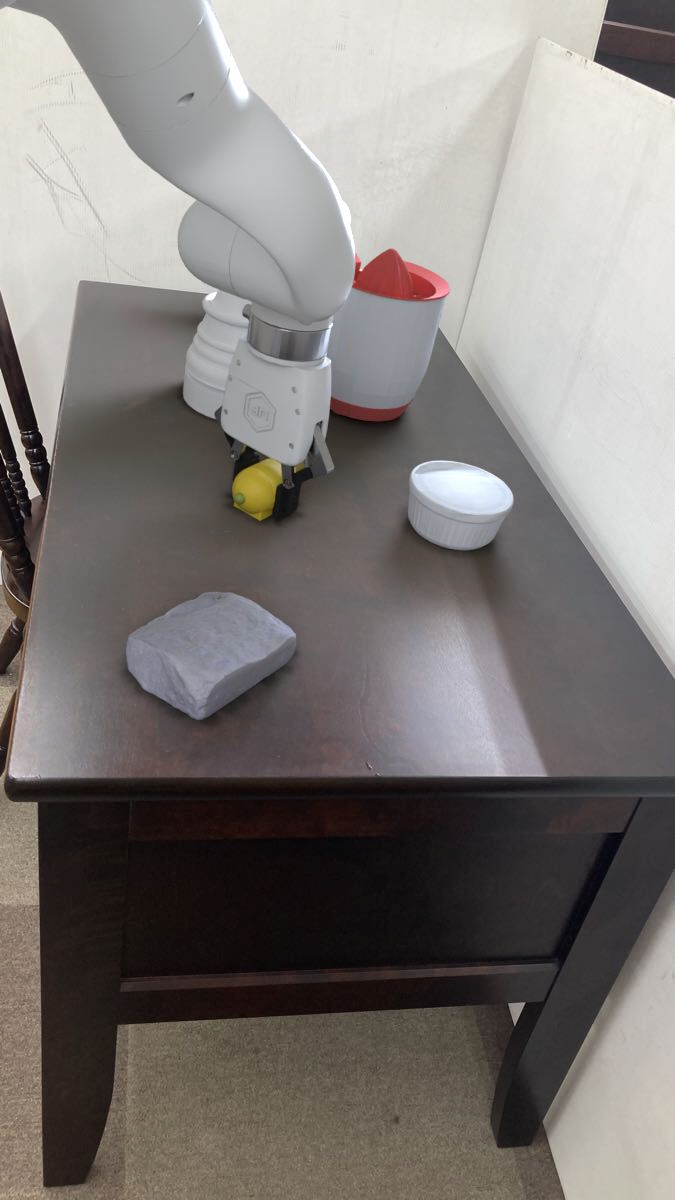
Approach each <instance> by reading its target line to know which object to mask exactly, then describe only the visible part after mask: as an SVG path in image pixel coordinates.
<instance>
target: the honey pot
mask: <svg viewBox="0 0 675 1200" xmlns="http://www.w3.org/2000/svg"><path fill="white" fill-rule="evenodd" d="M251 303H252V302H251V301H249V300H244V299H242V298H239V297H237V296H234V295H231V294H229V293H226V292H224V291H221V290H219V289H217V291H214V292H210V293H208V294H206V295H205V296H204V297H203V300H202V302H201V305H202V309H203V311H204V312H205V314H204V316H203V319H202V321H200V322H199V323H198V325H197V327H196V333H195V334H194V336H193V338H192V343H191V344H190V345H189V347H188V349H187V350H186V354H185V359H186V360H185V363H184V364H185V367H184V375H183V386H182V396H183V400H184V401H185V402H186V404H187V406H189V407H190V408H191V409H193V410H194V411H195V412H197V413H199V414H201V415H204V416H206V417H208V418H211V419H214V420H217V419H216V418H215V415H214V413H215V411H216V410H217V409H218V408H219V407H221V406H222V404H223V397H224V392H225V387H226V382H227V377H228V373H229V369H230V365H231V362H232V358H233V355H234V352H235V350H236V347H237V344H238V342H239V339H240V337H241V336H242V335H245V334H247V333H248V325H249V320H248V319H247V318H245V317H243V315H242V311H243V308H244V306H245V305H246V304H251Z"/></svg>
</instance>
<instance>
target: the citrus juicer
mask: <svg viewBox="0 0 675 1200" xmlns="http://www.w3.org/2000/svg"><path fill="white" fill-rule="evenodd" d="M361 266H362V261H361V259H360V257H359V256H358V254H357V252H355V274H354V280H353V285H352V288H351V291H350V293H349V295H348V297H347V299H346V301H345V303H344V304H343V306H342V307H341V308H340V309H339V310H338V311H337V312H336V313H335V314H334V316H333V321H332V328H331V334H330V339H329V345H328V350H327V356H326V357H327V358H328V359H330V360H331V399H330V410H331V411H332V412H333V413H334V414H336V415H340V416H344V417H348V418H351V419H356V420H359V421H360V420H361V421H365V422H386V421H393V420H395V419H398V418H399V417H401V416H402V415H403V413H404V412H405V411H406V410H407V409H408V407H409V406H410V404H411V403H412V402H413V399H414V398H415V395H416V393H417V391H418V390H419V388H420V386H421V384H422V382H423V380H424V379H425V378H424V377H425V375H426V374H427V370H428V368H429V363H430V361H431V358H432V353H433V349H434V345H435V341H436V338H437V334H438V330H439V326H440V322H441V317H442V315H443V311H444V306H445V303H446V298H447V296H449V294H450V292H451V287H450V284H449V283H448V281H447V280H446V279H445V278H443V277H442V276H440V275H439V273H436V272H434V271H432V270H430V269H428V268H426V267H424V266H422V265H418V264H416V263H413V262H410V261H405V260H403V258H402V257H401V255H400V254H399V252H398V250H397V249H395V248H393V247H392V248H387V249H386V250H384V251H383V252H381V253H379V254H378V255H377V256H376V257H374V258H373V259H372V260H370V261H369V262H368V263H367V264H366V265H365V266H364V267H363V268H362V269H363V270H362V271H360V269H361Z"/></svg>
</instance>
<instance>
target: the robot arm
mask: <svg viewBox="0 0 675 1200" xmlns="http://www.w3.org/2000/svg"><path fill="white" fill-rule="evenodd" d="M4 8H11V9H14V10H19V11H21V12H25V13H28V14H31V15H35V16H38V17H40V18H43V19H44V20H47V21H48V22H49V23H51V25H52V26H53V27H54V28H55V29H56V30H57V31H58V32H59V34H60V35H61V36H62V38H63V40H64V42H65V43H66V45H67V47H68V48H69V50H70V51H71V53H72V55H73V56H74V58H75V59H76V61H77V63H78V64H79V66H80V67H81V69H82V71H83V73H84V74H85V76H86V77H87V79H88V81H89V82H90V84H91V85H92V86H91V87H93V89H94V92H96V94H97V96H98V97H99V99H100V101H101V103H102V104H103V106H104V108H105V109H106V111H107V113H108V114H109V116H110V117H111V119H112V121H113V123H114V124H115V126H116V127H117V129H118V132H119V133H120V134H121V137H122V139H123V140H124V141H125V143H126V145H127V147H128V148H129V149H130V150H131V151H132V152H133V154H134V155H136V157H137V158H138V159H139V160H141V161H142V162H143V163H144V164H145V165H146V166H147V167H149V168H150V169H152V171H154V172H155V173H157V174H158V175H160V176H161V178H163V179H164V180H166V181H167V182H168V183H170V184H171V185H172V186H174V187H176V188H177V189H179V190H180V191H181V192H183V193H185V194H186V195H187V196H190V197H191V198H193V199H194V200H195V201H194V202H192V204H191V205H190V206H189V207H188V208H187V210H186V211H185V212H184V214H183V216H182V218H181V221H180V223H179V227H178V230H177V250H178V253H179V256H180V260H181V262H182V263H183V266H185V268H186V270H188V272H189V273H190V274H191V275H192V276H193V277H194V278H196V279H197V280H199V281H201V282H202V283H203V284H205V285H208V286H210V287H211V288H214V289H216V290H221V291H224V292H226V293H229V294H231V295H234V296H237V297H239V298H242V299H244V300H249V301H251V302H252V303H251V304H246V305H245V306H244V308H243V311H242V315H243V317H245V318H247V319H248V320H249V325H248V333H247V334H245V335H242V336H241V337H240V339H239V342H238V344H237V347H236V350H235V352H234V355H233V358H232V362H231V365H230V369H229V373H228V377H227V382H226V387H225V392H224V397H223V404H222V406H221V407H219V408H218V409H217V410H216V411H215V413H214V415H215V418H216V419H215V420H216V421H217V423H218V425H219V426H220V427H221V429H222V431H223V435H224V437H225V439H226V441H227V443H228V445H229V447H230V451H229V455H230V458H231V460H233V461H234V463H233V472H232V483H231V484H232V485H231V487H232V486H233V482H234V480H235V478H236V476H237V475H238V474H239V473H240V472H241V471H243V470H244V469H246V468H248V467H250V466H252V465H255V464H257V463H259V462H260V455H259V454H258V453H260V454H262V455H264V456H265V457H267V458H271V459H273V460H275V461H277V462H279V463H281V469H282V483H281V484H279V485H278V486H277V488H276V494H275V502H274V506H273V512H272V515H271V517H272V519H274V520H275V521H278V522H279V521H280V520H282V519H284V518H286V517H287V516H289V515H292V514H293V513H294V512H296V510H297V509H298V507H299V501H300V497H301V490H302V486H303V483H306V482H308V481H310V480H313V479H317V478H321V477H324V476H326V475H327V476H328V475H329V474H330V473H332V472H334V471H335V465H334V462H333V460H332V457H331V454H330V451H329V448H328V446H327V443H326V437H327V432H328V425H329V419H330V410H331V409H330V399H331V360H330V359H328V358H327V357H326V356H327V350H328V345H329V339H330V334H331V328H332V321H333V316H334V314H335V313H336V312H337V311H338V310H339V309H340V308H341V307H342V306H343V304H344V303H345V301H346V299H347V297H348V295H349V293H350V291H351V288H352V285H353V280H354V274H355V253H356V250H355V242H354V238H353V234H352V228H351V226H350V225H351V213H350V210H349V207H348V205H347V204H346V203H345V201H343V200H342V197H341V195H340V193H339V190H338V187H337V186H336V184H335V182H334V181H333V179H332V178H331V176H330V174H329V173H328V172H327V170H326V168H325V167H324V166H323V165H322V163H321V162H320V160H318V158H317V157H316V156H315V155H314V153H312V151H311V150H310V149H309V148H308V147H307V146H306V145H305V143H304V142H303V141H301V139H300V138H299V137H298V136H297V134H295V133H294V131H292V130H291V128H290V127H289V126H288V125H287V124H286V123H285V122H284V121H283V120H282V118H281V117H280V116H279V115H278V114H277V113H276V112H275V111H274V109H272V108H271V106H270V105H269V104H268V103H267V102H265V100H264V99H263V98H261V96H259V94H257V93H256V92H255V90H253V89H252V88H251V87H250V86H249V85H248V84H247V83H246V81H245V80H244V79H243V78H244V77H242V75H241V73H240V70H239V68H238V66H237V64H236V60H235V59H234V58H235V57H234V56H233V53H232V51H231V48H230V45H229V43H228V41H227V39H226V36H225V33H224V32H223V29H222V26H221V23H220V22H219V19H218V16H217V13H216V12H215V9H214V6H213V4H212V1H211V0H0V10H2V9H4ZM256 452H258V453H256ZM308 454H309V455H311V458H312V460H313V463H312V464H309V460H308V459H309V458H308V457H309V456H308ZM294 467H295V468H296V472H295V473H294ZM230 493H231V494H230V495H232V491H231V492H230Z"/></svg>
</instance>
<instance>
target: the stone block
mask: <svg viewBox="0 0 675 1200" xmlns="http://www.w3.org/2000/svg"><path fill="white" fill-rule="evenodd" d="M296 647H297V634H296V633H295V632H294V631H293V629H292V628H291V627H290V626H289V625H288V624H286V623H284V622H283V621H282V620H281V619H279V618H277V617H275V616H274V614H272V613H271V612H270V611H268V610H266V609H265V608H263V607H262V606H260V605H259V604H258V603H256V602H254V601H253V600H251V599H250V598H248V597H244V596H241V595H238V594H236V593H234V592H231V591H227V592H221V591H209V592H208V591H207V592H206V591H205V592H204V593H202V594H200V595H199V596H198V597H196V598H193V599H189V600H186V601H184V602H181V603H179V604H178V605H176V606H174V607H172V608H171V609H170V610H168V611H167V612H166V613H165V614H164V615H160V616H158V617H155V618H154V619H152V620H151V621H149V622H148V623H147V624H146V625H142V626H140V627H139V628H138V629H136V630H134V631H133V632H131V633H130V634H129V635H128V638H127V641H126V647H125V656H126V657H125V658H126V664H127V670H128V671H129V673H130V674H131V675H132V676H133V677H134V679H135V680H136V681H137V682H138V683H139V685H140V687H141V688H142V689H143V690H144V691H146V692H148V693H149V694H152V695H154V696H156V697H157V698H158V699H161V700H163V701H165V702H166V703H168V704H169V705H170V706H172V707H173V709H177V710H179V711H181V712H182V713H184V714H187V715H188V716H189V717H190V718H191V719H194V720H196V721H203V720H205V719H207V718H209V717H210V716H212V715H213V714H214V713H216V712H218V711H219V710H221V709H223V708H224V707H226V706H227V705H229V704H230V703H232V702H233V701H235V700H236V699H237V698H239V697H240V696H241V695H243V694H244V693H246V692H247V691H249V690H250V689H251V688H253V687H255V686H256V685H258V684H259V683H260V682H261V681H263V680H264V679H266V678H268V677H270V676H271V675H273V674H274V673H275V672H277V671H278V670H281V668H283V667H284V666H285V665H287V664H288V663H289V662H290V661H291V659H292V657H293V656H294V655H295V651H296Z"/></svg>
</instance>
